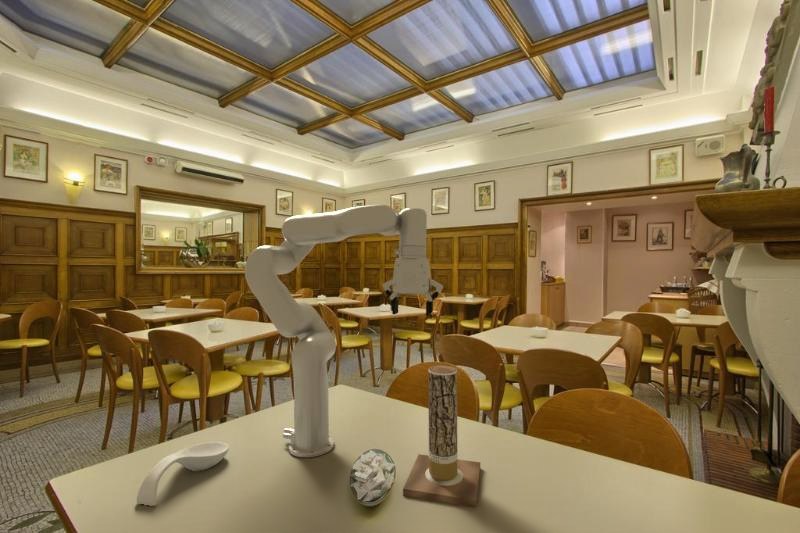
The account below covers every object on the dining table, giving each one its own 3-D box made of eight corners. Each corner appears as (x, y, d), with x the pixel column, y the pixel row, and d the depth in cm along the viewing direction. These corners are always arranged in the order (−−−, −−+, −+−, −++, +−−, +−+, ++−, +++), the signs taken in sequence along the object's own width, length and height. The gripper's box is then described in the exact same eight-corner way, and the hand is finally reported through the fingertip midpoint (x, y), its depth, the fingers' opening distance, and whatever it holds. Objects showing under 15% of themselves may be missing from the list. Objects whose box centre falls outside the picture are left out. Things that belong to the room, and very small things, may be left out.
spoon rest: (200, 452, 104) (200, 426, 104) (238, 455, 101) (238, 429, 101) (122, 504, 80) (122, 471, 80) (169, 510, 78) (169, 476, 78)
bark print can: (456, 483, 84) (456, 373, 85) (427, 480, 86) (426, 372, 86) (458, 468, 91) (457, 366, 91) (430, 465, 92) (430, 364, 93)
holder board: (403, 495, 83) (403, 488, 83) (418, 459, 98) (418, 454, 98) (476, 507, 78) (475, 500, 78) (480, 468, 94) (480, 462, 94)
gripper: (378, 252, 102) (377, 314, 102) (440, 252, 97) (439, 318, 97) (388, 253, 109) (387, 311, 109) (445, 254, 104) (444, 314, 104)
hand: (411, 314), depth 103 cm, fingers open, 9 cm apart
